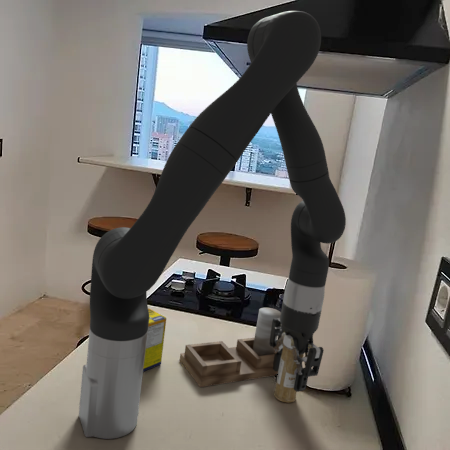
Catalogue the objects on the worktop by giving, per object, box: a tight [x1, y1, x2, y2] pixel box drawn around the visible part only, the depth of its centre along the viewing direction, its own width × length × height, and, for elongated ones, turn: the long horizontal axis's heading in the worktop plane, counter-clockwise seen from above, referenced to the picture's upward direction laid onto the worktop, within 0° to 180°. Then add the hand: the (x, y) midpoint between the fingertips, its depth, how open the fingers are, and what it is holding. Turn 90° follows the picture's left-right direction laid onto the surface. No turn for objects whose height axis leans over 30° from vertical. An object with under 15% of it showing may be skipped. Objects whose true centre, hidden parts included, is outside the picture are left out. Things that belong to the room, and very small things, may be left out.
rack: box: [179, 307, 281, 388], centre depth 101 cm, size 23×11×12 cm, turn 118°
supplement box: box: [143, 307, 167, 373], centre depth 97 cm, size 6×6×11 cm
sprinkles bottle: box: [273, 335, 305, 404], centre depth 92 cm, size 5×5×14 cm
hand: (288, 379), depth 92 cm, fingers open, 7 cm apart
